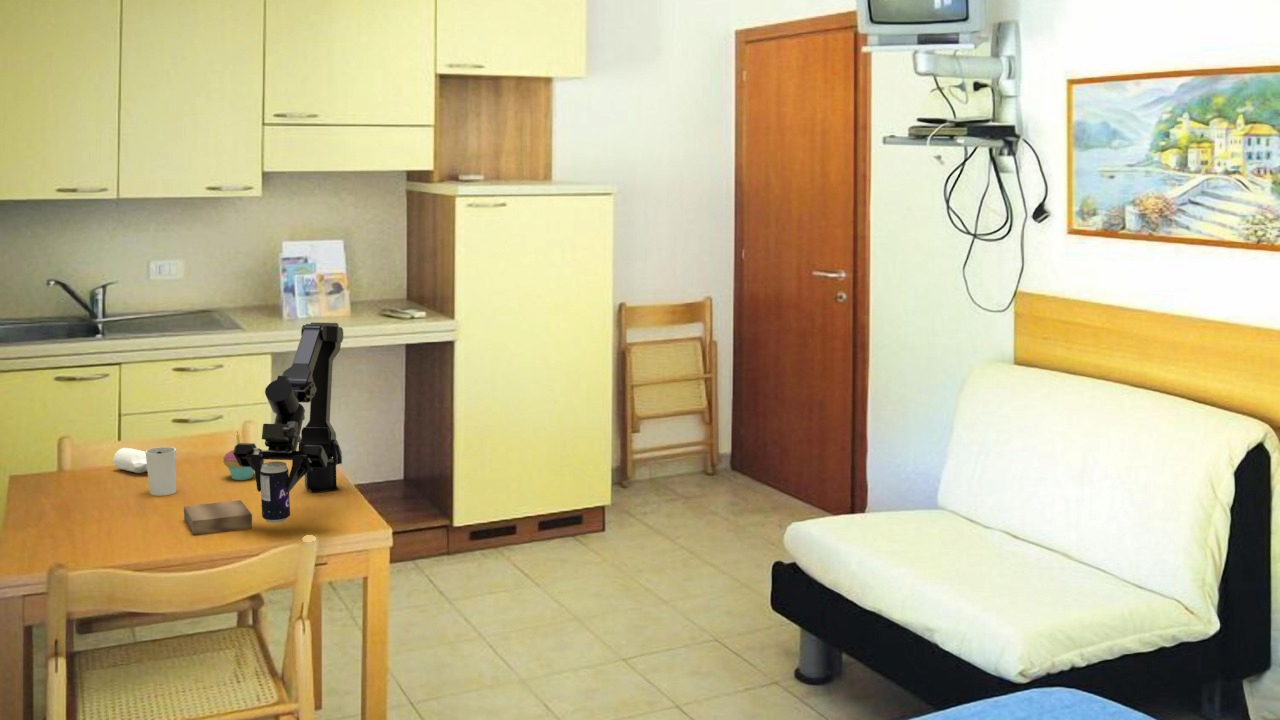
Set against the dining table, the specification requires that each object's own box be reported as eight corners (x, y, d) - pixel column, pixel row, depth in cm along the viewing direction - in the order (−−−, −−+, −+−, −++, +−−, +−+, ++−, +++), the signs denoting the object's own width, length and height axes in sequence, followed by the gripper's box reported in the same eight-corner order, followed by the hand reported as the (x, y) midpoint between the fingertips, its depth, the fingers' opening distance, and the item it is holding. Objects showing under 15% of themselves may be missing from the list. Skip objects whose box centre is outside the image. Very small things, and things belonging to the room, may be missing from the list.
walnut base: (241, 513, 291) (240, 500, 291) (252, 527, 281) (251, 514, 280) (184, 519, 286) (183, 506, 285) (193, 535, 275) (192, 521, 275)
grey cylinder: (141, 494, 305) (139, 452, 303) (161, 487, 311) (159, 445, 310) (164, 497, 303) (162, 454, 301) (184, 490, 309) (182, 448, 307)
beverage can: (282, 524, 274) (280, 468, 272) (257, 522, 275) (255, 466, 273) (294, 516, 280) (292, 461, 278) (270, 514, 281) (267, 460, 279)
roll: (142, 479, 319) (141, 456, 318) (113, 471, 326) (112, 449, 325) (164, 474, 324) (163, 451, 323) (135, 466, 330) (133, 444, 329)
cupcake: (254, 482, 317) (252, 433, 315) (218, 481, 317) (216, 432, 315) (264, 473, 325) (262, 425, 323) (230, 472, 325) (228, 425, 323)
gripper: (234, 406, 278) (217, 470, 269) (322, 407, 277) (308, 473, 268) (248, 433, 287) (232, 497, 278) (333, 435, 286) (320, 499, 277)
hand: (272, 491), depth 275 cm, fingers closed on beverage can, 6 cm apart
